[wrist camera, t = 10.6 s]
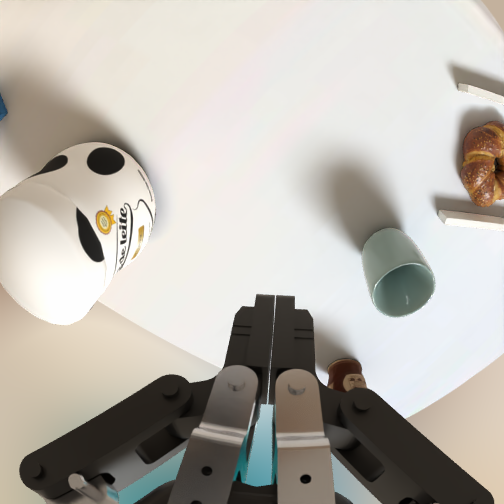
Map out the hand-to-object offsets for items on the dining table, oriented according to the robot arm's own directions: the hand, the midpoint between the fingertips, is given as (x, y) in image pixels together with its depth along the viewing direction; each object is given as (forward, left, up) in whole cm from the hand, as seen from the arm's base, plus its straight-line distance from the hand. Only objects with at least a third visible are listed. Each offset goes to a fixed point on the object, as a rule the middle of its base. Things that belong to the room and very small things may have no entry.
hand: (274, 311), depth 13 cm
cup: (+12, +14, -27) cm, 33 cm away
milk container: (+6, -24, -27) cm, 37 cm away
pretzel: (-2, +28, -28) cm, 39 cm away
